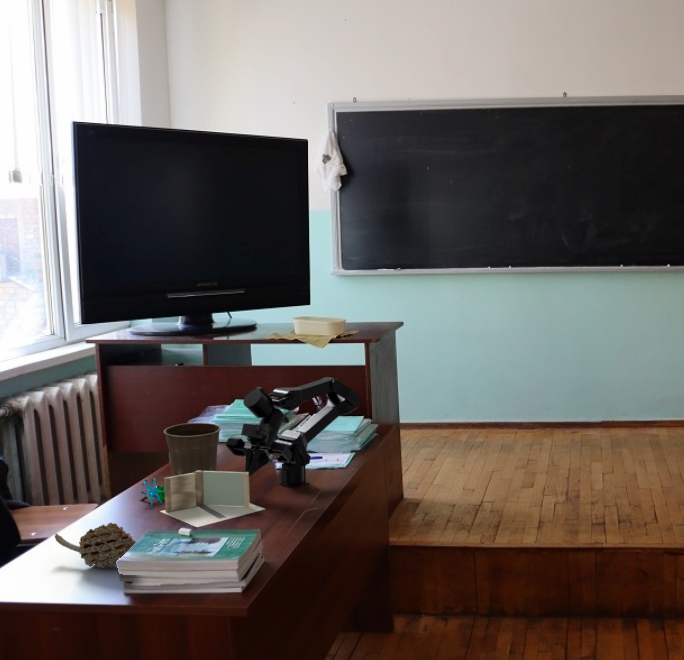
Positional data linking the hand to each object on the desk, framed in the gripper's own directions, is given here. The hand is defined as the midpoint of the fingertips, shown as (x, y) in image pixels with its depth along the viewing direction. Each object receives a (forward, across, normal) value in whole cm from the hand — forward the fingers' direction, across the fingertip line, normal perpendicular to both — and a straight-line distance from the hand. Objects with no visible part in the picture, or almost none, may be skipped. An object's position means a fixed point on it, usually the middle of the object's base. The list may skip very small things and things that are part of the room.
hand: (246, 476), depth 259 cm
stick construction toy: (+12, -24, -2) cm, 27 cm away
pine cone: (+43, -4, -33) cm, 54 cm away
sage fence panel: (+9, -2, 0) cm, 9 cm away
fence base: (+14, -11, -4) cm, 18 cm away
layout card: (+12, -4, -2) cm, 13 cm away
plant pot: (-1, -25, +11) cm, 27 cm away
